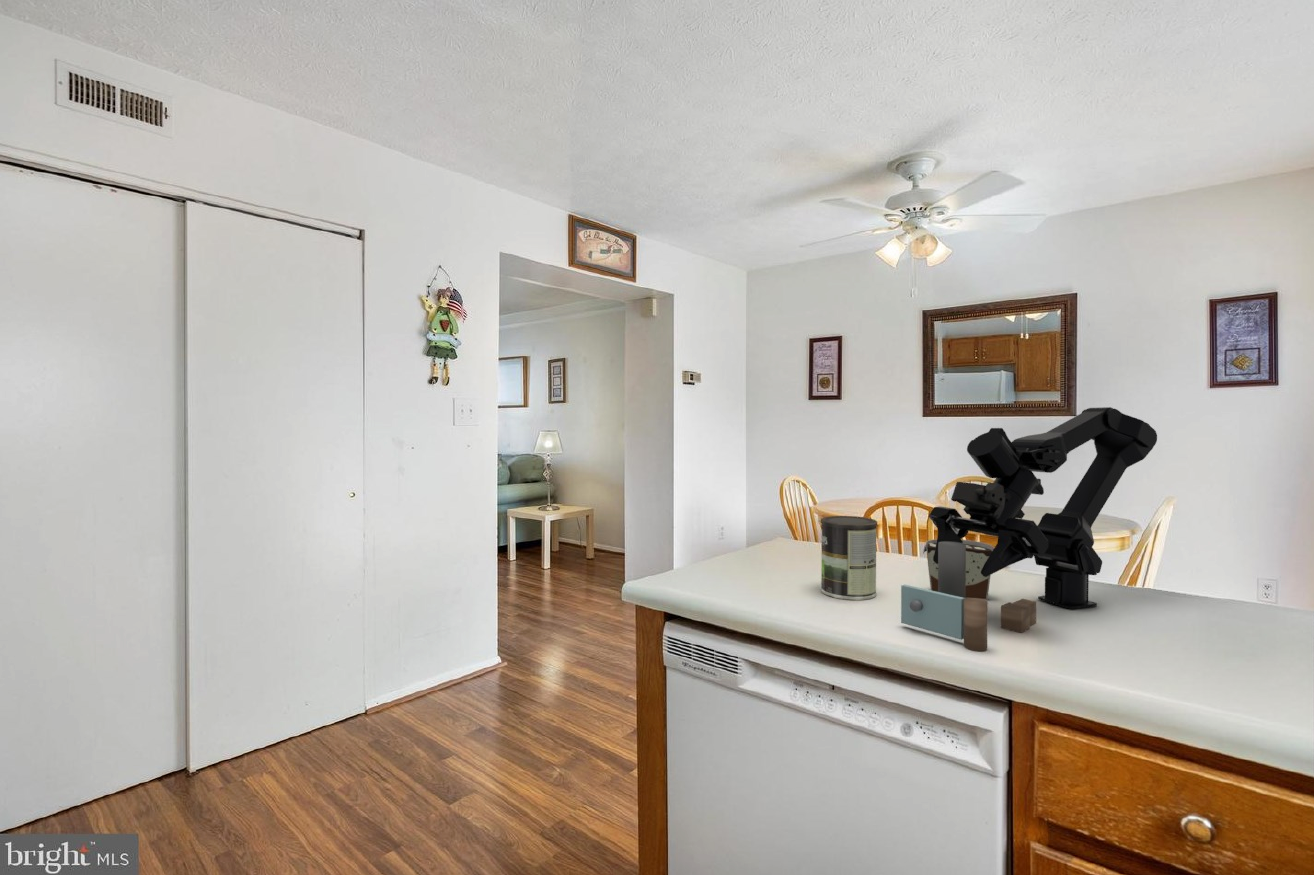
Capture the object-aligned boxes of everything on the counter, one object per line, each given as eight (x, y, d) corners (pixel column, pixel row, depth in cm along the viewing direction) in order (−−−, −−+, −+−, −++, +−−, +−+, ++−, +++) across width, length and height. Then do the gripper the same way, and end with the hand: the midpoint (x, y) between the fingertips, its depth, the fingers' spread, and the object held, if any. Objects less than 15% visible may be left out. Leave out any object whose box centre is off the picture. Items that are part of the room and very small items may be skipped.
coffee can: (818, 597, 112) (818, 522, 111) (822, 583, 121) (822, 514, 121) (877, 602, 108) (877, 525, 108) (876, 588, 118) (877, 517, 118)
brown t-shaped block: (981, 652, 84) (981, 605, 84) (959, 646, 87) (960, 600, 87) (1039, 623, 96) (1039, 581, 96) (1019, 619, 99) (1019, 578, 99)
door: (964, 638, 88) (964, 597, 88) (957, 641, 87) (958, 600, 87) (904, 621, 96) (904, 584, 96) (897, 624, 95) (897, 586, 94)
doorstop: (971, 619, 99) (972, 541, 98) (975, 632, 93) (976, 549, 92) (929, 615, 101) (929, 538, 101) (930, 627, 95) (930, 546, 95)
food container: (989, 592, 115) (990, 540, 114) (996, 601, 109) (997, 546, 109) (919, 586, 119) (920, 536, 118) (922, 595, 113) (923, 542, 113)
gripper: (936, 461, 107) (888, 527, 104) (1036, 468, 90) (983, 547, 86) (968, 502, 111) (923, 567, 107) (1070, 516, 93) (1021, 595, 89)
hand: (958, 568), depth 97 cm, fingers open, 9 cm apart
